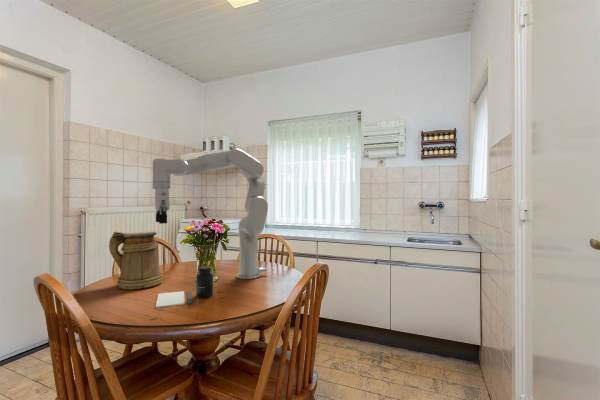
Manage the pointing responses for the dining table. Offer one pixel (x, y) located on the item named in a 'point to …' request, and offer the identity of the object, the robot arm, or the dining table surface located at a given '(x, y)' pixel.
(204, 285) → the supplement bottle
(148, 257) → the tankard
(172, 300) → the white tile with strip
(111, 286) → the dining table surface
